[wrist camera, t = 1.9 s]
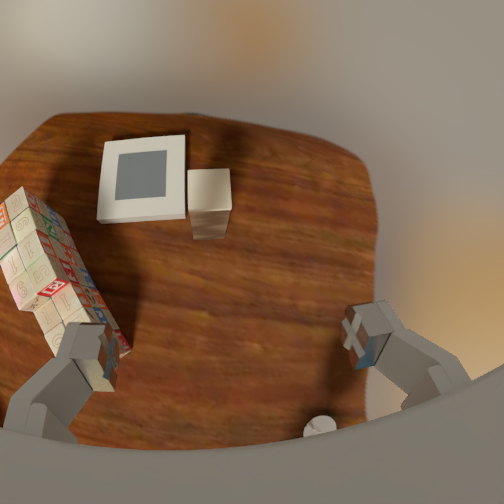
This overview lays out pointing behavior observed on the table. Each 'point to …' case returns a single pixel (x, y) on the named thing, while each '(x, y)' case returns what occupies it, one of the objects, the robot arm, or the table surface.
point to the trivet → (142, 180)
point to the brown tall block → (209, 202)
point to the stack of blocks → (48, 270)
